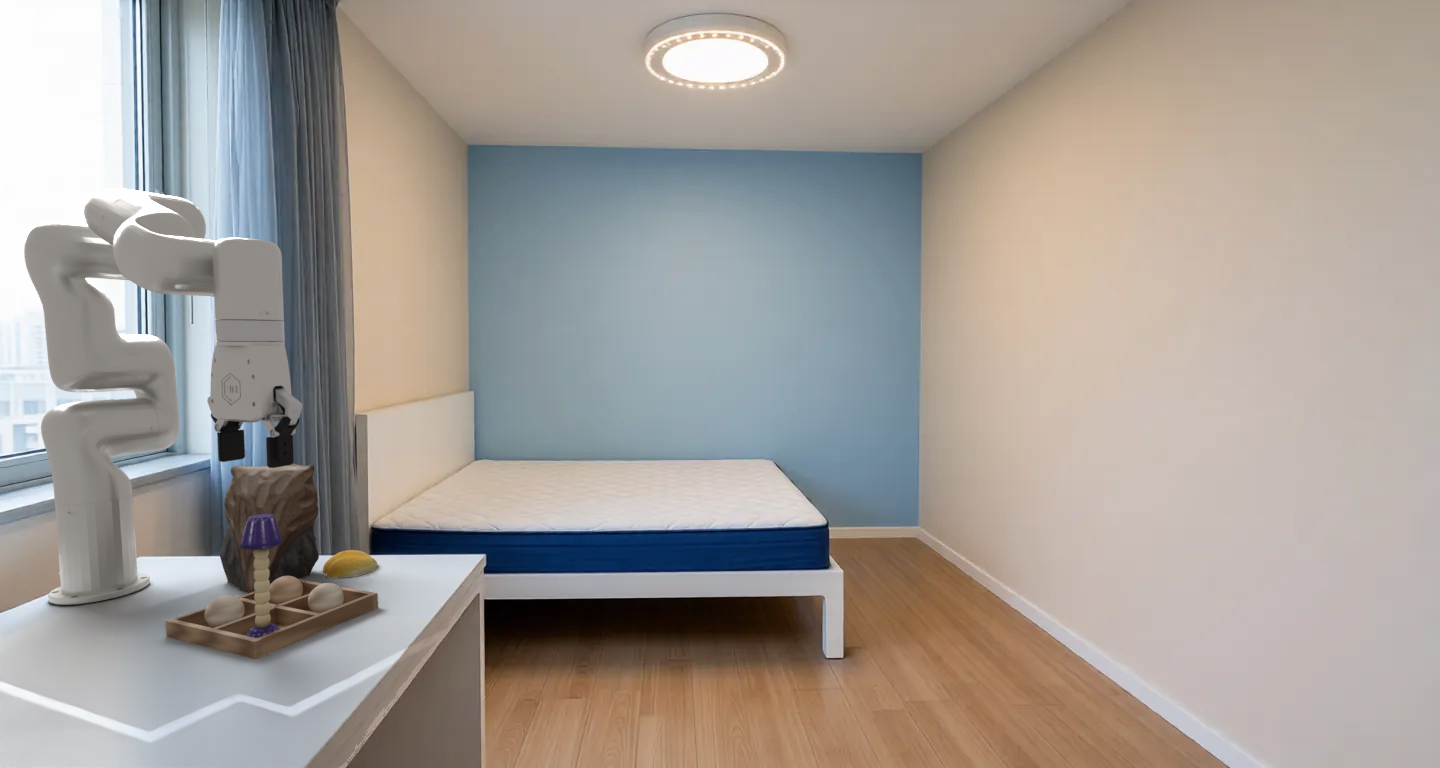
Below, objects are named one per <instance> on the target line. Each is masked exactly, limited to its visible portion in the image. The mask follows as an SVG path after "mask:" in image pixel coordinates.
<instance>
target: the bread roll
mask: <svg viewBox="0 0 1440 768" xmlns="http://www.w3.org/2000/svg"><path fill="white" fill-rule="evenodd" d="M377 567H378V562H377V560H376V559H374V558H373V557H372V556H371V555H370V554H369V553H366V552H365V551H361V550H356V549H350V550H342V551H339V552H337V553H336V554H334V555H332V556H331V557H330V558H329V559H328V560H326V562H325V563H324V565H323V567H322V572H323V574H324V575H325V576H326V577H327V578H328V579H341V578H353V577H357V576H361V575H365V574H367V573H369V572H372V571H374V570H375V569H376V568H377Z"/></svg>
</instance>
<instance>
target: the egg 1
mask: <svg viewBox="0 0 1440 768" xmlns="http://www.w3.org/2000/svg"><path fill="white" fill-rule="evenodd" d="M238 597H239V596H236V595H235V596H234V595H230V594H227V595H226V594H225V595H221V596H218V597H216V598H214V599H213V600H212V601H210V602H209V604H208V605H207V606H206V607H207V608H206V607H205V608H206V610H205V616H204V617H205V621H206V623H207V624H208V625H209V626H210V627H212V628H215V627H218V626H220V625H223V624H226V623H229V622H231V621H234V620H237V619H240V618H242V617H243V615H244V612H245V607H244V604H243V602H242V601H241V600H240V599H239V598H238Z"/></svg>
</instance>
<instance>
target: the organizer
mask: <svg viewBox="0 0 1440 768" xmlns="http://www.w3.org/2000/svg"><path fill="white" fill-rule="evenodd" d="M299 580H300V582H301V583H302V586H303V593H302V596H301V597H298V598H295V599H293V600H290V601H287V602H284V603H282V604H279V605H275V604H271V603H270V601H269V603H270V612H269V614H270V616H271V621H270V623H273V624H275V625H277V626H278V627H279V628H280V629H279V630H277V631H274V632H272V633H269V634H267V635H264V636H262V637H259V638H253V637H249V636H246V634H247V632H248V631H249V630H250V629H251V628H253V627H254V626H256V624H255V618H256V613H255V605H256V602H255V600H254V596H255V593H256V592H255V591H254V592H251V593H246V594H245V593H244V594H243V595H239V596H237V597H238V598H239V599H240V600H241V601H242V602H243V604H244V607H245V612H244V615H243V617H242V618H240V619H237V620H234V621H231V622H229V623H226V624H223V625H220V626H218V627H215V628H212V627H210V626H209V625H208V624H207V623H206V621H205V617H204V616H205V610H206V608H207V606H206V607H203V608H201V609H197V610H195V611H191V612H188V613H185V614H182V615H180V616H176V617H173V618H170V619H168V620H165V632H166V633H165V634H166V637H167V638H170V639H173V640H177V641H181V642H185V643H189V644H193V645H197V646H202V647H205V648H209V649H214V650H218V651H220V652H225V653H230V654H233V655H237V656H241V657H245V658H249V659H253V660H257V659H260V658H262V657H264V656H267V655H270V654H272V653H273V652H276V651H279V650H281V649H284V648H285V647H288V646H291V645H293V644H295V643H298V642H300V641H302V640H306V639H307V638H309V637H312V636H314V635H315V636H316V635H317V634H319V633H321V632H323V631H326V630H328V629H332V628H333V627H334V628H335V627H337V626H338V625H341V624H343V623H345V622H347V621H350V620H352V619H355V618H357V617H360V616H362V615H364V614H366V613H369V612H371V611H373V610H376V609H378V608H379V597H378V596H379V595H378V592H373V591H368V590H362V589H357V588H351V587H346V586H345V587H344V586H339V585H338V586H339V587H340V588H341V589H342V591H343V594H344V600H343V603H342V605H340V606H338V607H335V608H333V609H330V610H328V611H325V612H323V613H315V612H312V611H311V610H310V608H309V606H308V597H309V595H310V593H311V591H312V590H313V589H314V588H315V587H317V586H318V585H320V584H323V583H322V582H318V581H317V582H316V581H312V580H310V581H309V580H304V579H299Z"/></svg>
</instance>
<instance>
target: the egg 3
mask: <svg viewBox="0 0 1440 768" xmlns="http://www.w3.org/2000/svg"><path fill="white" fill-rule="evenodd" d="M340 587H341V586H340ZM340 587H339V585H338V584H336V583H333V582H324V583H323V584H320V585H318V586H317V587H315V588H314V589H313V590H312V591H311V593H310V595H309V597H308V606H309V608H310V610H311V611H312V612H315V613H323V612H325V611H328V610H330V609H333V608H335V607H338V606H340V605H342V603H343V600H344V594H343V591H342V589H341V588H340Z"/></svg>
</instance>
